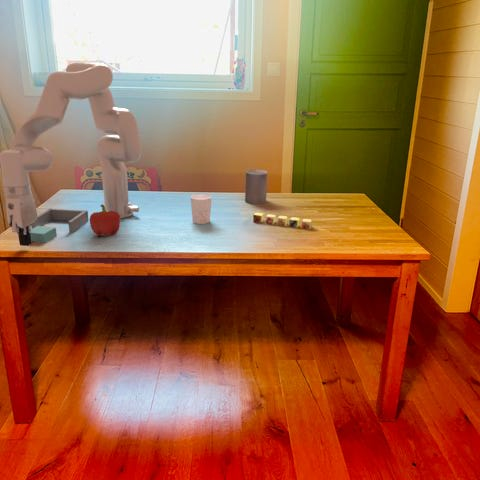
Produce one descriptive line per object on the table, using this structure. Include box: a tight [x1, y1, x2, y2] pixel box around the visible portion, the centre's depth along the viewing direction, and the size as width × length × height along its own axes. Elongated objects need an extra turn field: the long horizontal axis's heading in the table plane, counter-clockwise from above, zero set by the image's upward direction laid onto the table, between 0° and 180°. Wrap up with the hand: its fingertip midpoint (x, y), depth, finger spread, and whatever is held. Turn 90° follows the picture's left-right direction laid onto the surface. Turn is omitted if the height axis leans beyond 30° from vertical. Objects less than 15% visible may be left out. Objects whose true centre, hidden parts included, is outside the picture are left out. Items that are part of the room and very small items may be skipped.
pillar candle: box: [244, 168, 268, 205], centre depth 213 cm, size 10×10×15 cm
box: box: [31, 208, 89, 233], centre depth 178 cm, size 15×14×4 cm
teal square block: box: [29, 225, 58, 244], centre depth 164 cm, size 7×7×4 cm
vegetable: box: [89, 204, 121, 237], centre depth 169 cm, size 11×10×10 cm
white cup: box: [190, 193, 212, 225], centre depth 185 cm, size 8×8×10 cm
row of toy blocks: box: [252, 212, 313, 230], centre depth 183 cm, size 32×32×3 cm
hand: (25, 244), depth 155 cm, fingers closed
